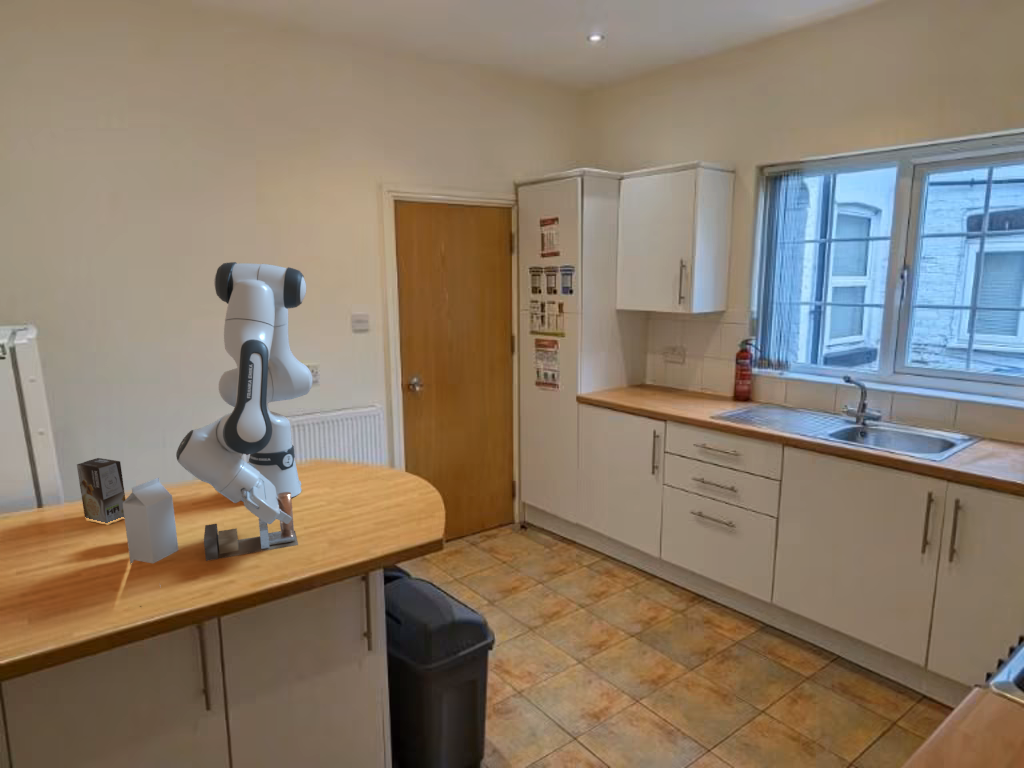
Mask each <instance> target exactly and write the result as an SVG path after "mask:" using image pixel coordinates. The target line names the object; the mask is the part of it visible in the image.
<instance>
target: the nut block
mask: <svg viewBox="0 0 1024 768" xmlns="http://www.w3.org/2000/svg"><path fill="white" fill-rule="evenodd" d="M238 540H239V539H238V528H231V529H224V530H218V542H219V552H220V554H222V553H228V552H234V551H238Z"/></svg>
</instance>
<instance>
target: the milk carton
mask: <svg viewBox="0 0 1024 768" xmlns="http://www.w3.org/2000/svg"><path fill="white" fill-rule="evenodd" d="M174 509H175V507H174V500H173V495H172V494H171V493H170V492H169V491H168V490H167V488H166V487H165V486H164V485H163V484H162V483H161V482H160V477H157V478H154V479H150V480H149V481H145V482H143V483H141V484H138V485H136V486H133V487H131V493H130V494H129V495H128V496H127V498H125V501H124V502H123V511H124V518H125V519H124V523H125V531H126V540H127V548H128V555H129V563H130V564H131V563H133V564H134V561H137V562H138V561H139V562H143V563H148V564H149V563H150V564H155V563H158V562H159V561H161V560H163V559H164V558H167V557H168V556H170V555H172V554H175V553H176V552H178V551H179V543H178V537H177V528H176V525H177V524H176V518H175V510H174Z"/></svg>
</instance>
